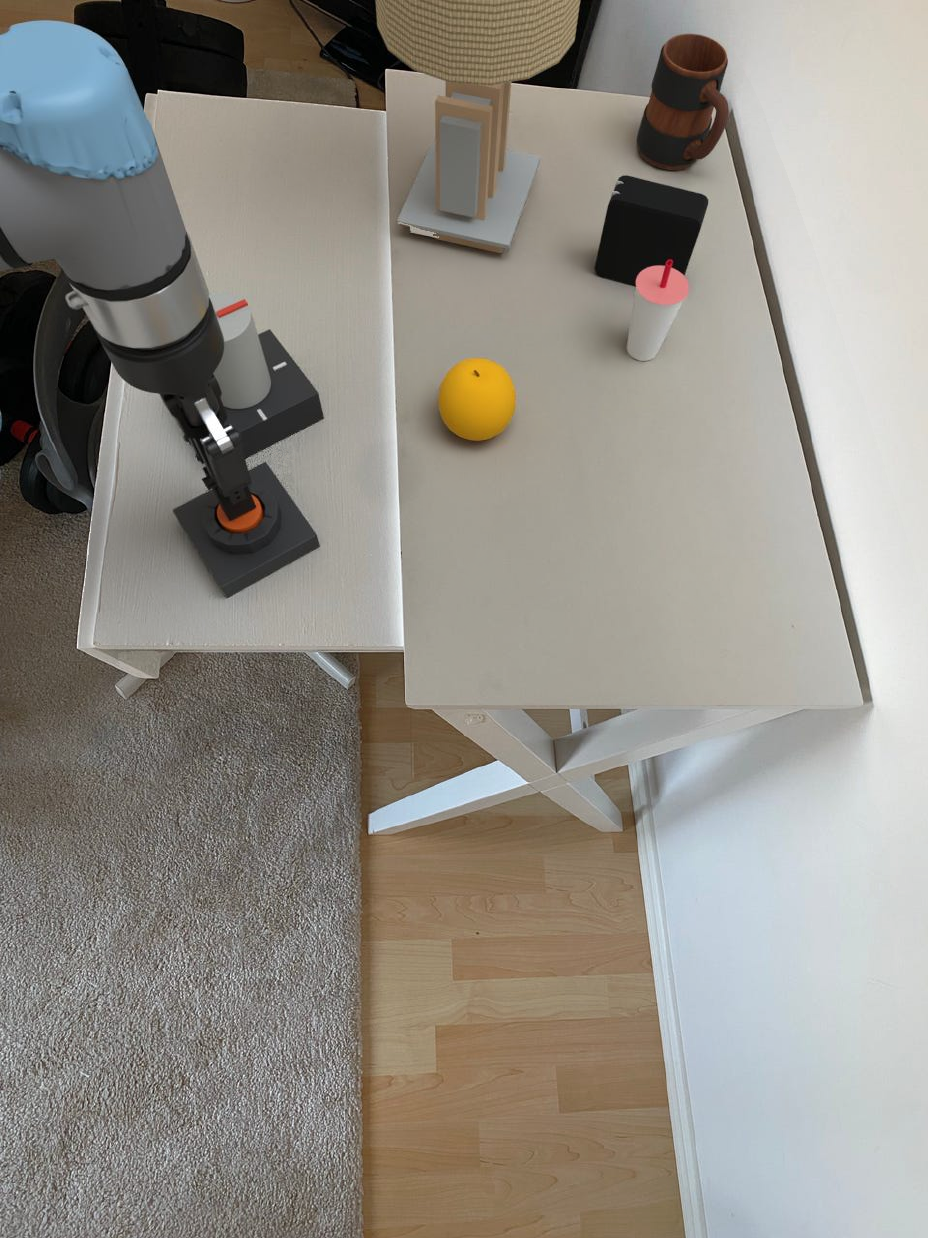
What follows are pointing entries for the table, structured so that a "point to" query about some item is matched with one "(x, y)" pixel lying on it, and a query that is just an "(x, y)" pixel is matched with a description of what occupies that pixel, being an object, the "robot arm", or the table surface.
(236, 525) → the power button
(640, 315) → the cup
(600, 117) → the table surface
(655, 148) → the mug
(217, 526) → the button base
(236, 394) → the timer dial
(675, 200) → the electronic device
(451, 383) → the yellow orange fruit
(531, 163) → the desk lamp
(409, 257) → the table surface
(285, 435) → the dial panel
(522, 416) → the table surface
